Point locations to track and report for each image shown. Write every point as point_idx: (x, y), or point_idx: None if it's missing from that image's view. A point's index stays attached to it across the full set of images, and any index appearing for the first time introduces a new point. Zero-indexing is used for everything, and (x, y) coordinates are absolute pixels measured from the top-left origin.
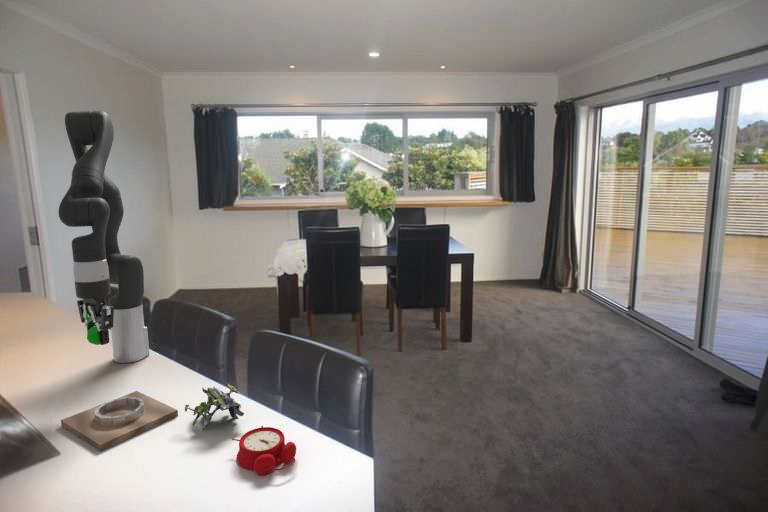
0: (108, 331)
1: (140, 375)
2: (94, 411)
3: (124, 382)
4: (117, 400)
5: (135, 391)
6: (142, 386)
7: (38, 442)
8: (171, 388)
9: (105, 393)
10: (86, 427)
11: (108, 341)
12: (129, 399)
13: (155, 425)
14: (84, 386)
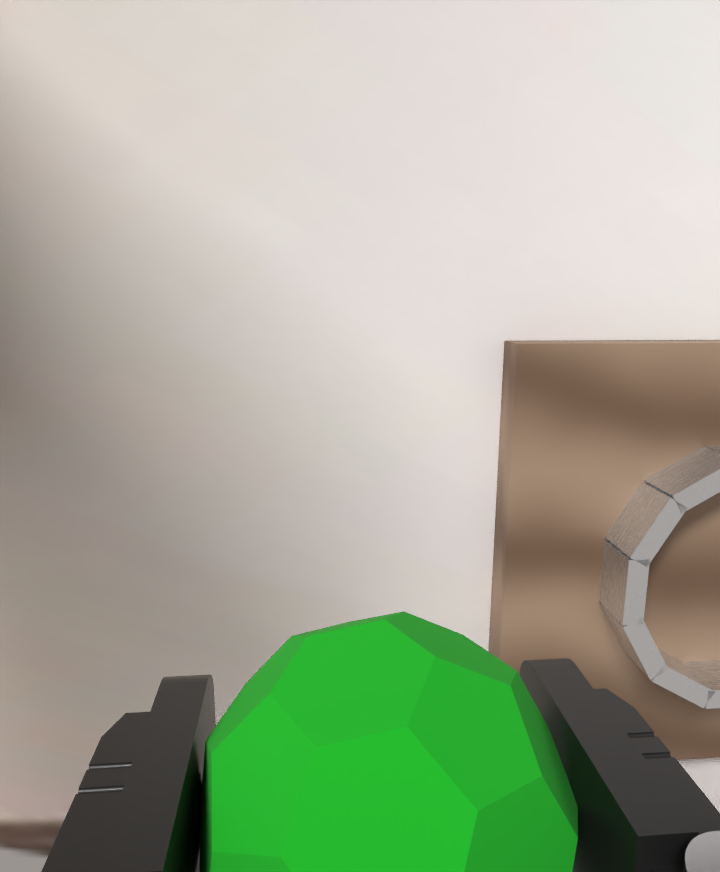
0: (490, 691)
1: (183, 120)
2: (553, 632)
3: (212, 272)
4: (655, 551)
5: (518, 354)
6: (392, 232)
7: None
8: (602, 127)
9: (285, 442)
10: (684, 724)
11: (610, 695)
12: (702, 496)
13: None
14: (47, 474)
